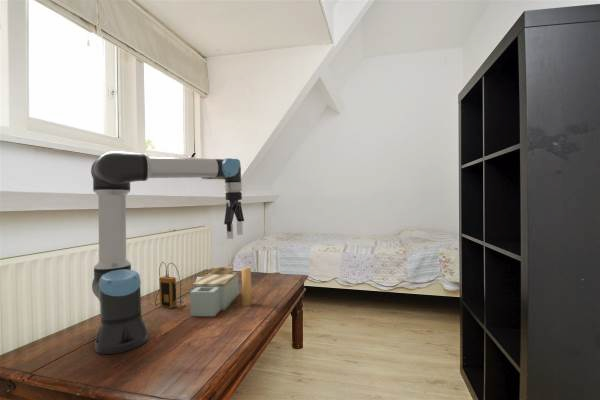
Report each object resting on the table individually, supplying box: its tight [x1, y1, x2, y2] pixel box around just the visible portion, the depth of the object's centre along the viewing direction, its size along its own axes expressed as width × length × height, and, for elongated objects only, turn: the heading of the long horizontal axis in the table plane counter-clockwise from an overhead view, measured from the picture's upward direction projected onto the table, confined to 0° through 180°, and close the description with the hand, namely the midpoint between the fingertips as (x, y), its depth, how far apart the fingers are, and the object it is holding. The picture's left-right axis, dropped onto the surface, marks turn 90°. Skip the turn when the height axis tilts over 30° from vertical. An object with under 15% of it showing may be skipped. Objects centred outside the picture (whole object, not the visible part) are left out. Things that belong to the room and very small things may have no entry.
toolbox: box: [189, 274, 239, 317], centre depth 136 cm, size 14×27×10 cm, turn 175°
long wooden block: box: [241, 267, 253, 307], centre depth 135 cm, size 4×4×16 cm
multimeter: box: [154, 261, 187, 309], centre depth 138 cm, size 15×10×20 cm
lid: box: [192, 266, 239, 287], centre depth 140 cm, size 14×20×4 cm
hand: (235, 236), depth 144 cm, fingers open, 13 cm apart
